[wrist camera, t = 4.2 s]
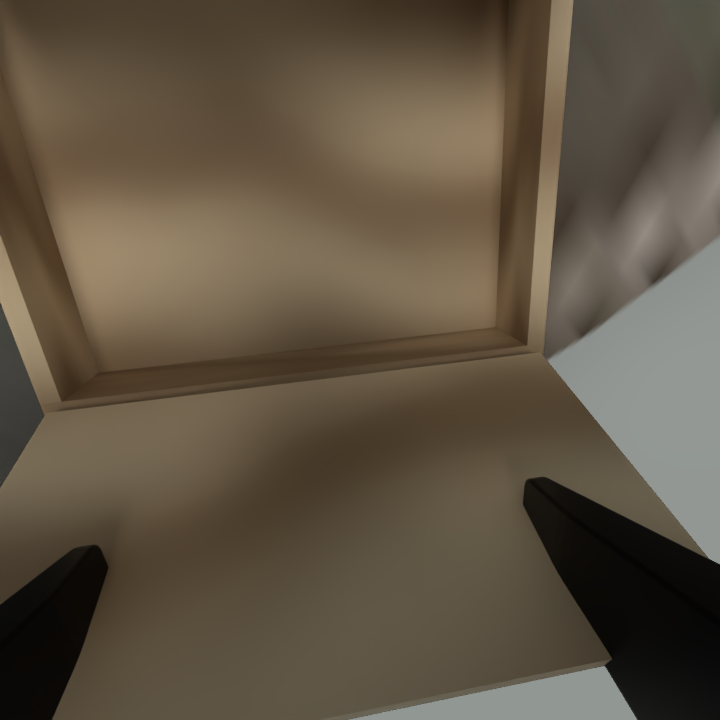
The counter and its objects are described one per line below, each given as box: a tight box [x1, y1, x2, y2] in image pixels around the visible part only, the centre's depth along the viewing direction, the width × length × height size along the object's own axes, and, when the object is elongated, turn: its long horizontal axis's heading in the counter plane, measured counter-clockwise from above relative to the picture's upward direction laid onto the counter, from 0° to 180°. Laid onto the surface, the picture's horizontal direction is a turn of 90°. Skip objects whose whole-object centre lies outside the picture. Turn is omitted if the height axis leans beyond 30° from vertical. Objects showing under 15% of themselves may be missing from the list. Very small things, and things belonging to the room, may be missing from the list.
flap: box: [0, 352, 709, 720], centre depth 10 cm, size 8×15×1 cm
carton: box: [0, 0, 573, 416], centre depth 12 cm, size 13×16×3 cm
